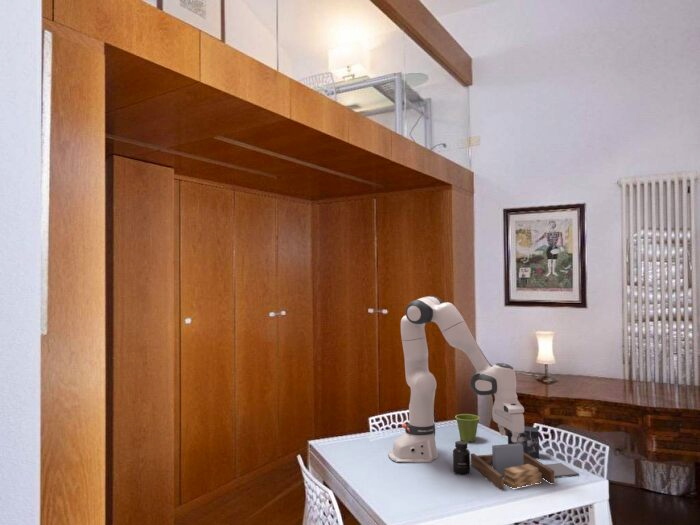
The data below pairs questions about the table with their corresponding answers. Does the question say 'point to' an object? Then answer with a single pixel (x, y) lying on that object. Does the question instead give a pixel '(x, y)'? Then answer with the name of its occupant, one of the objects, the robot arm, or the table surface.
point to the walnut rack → (496, 478)
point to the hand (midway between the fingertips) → (508, 438)
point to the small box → (527, 441)
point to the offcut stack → (522, 476)
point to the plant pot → (467, 426)
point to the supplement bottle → (461, 458)
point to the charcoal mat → (561, 470)
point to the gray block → (507, 456)
